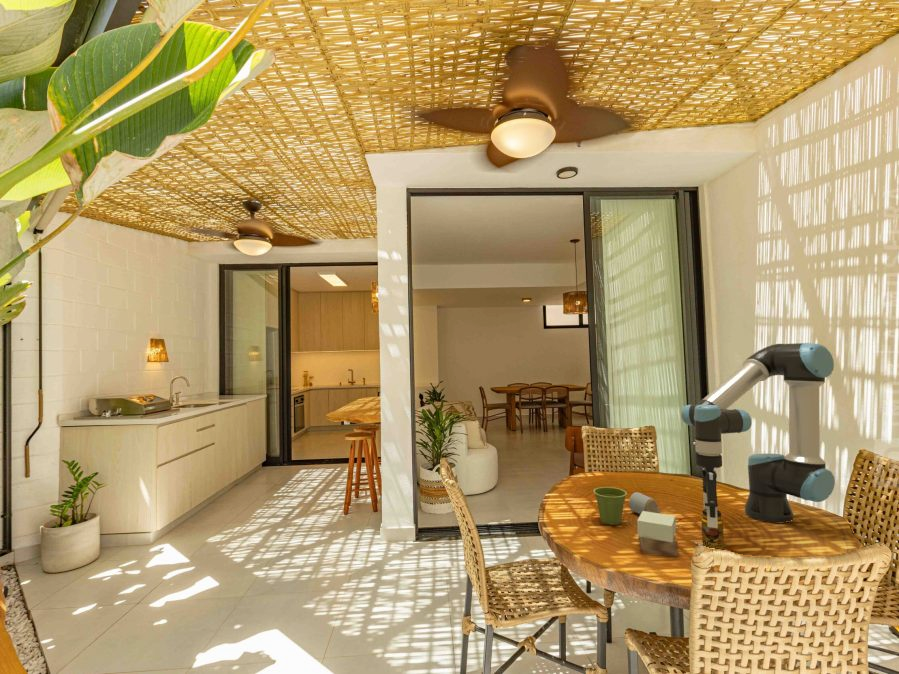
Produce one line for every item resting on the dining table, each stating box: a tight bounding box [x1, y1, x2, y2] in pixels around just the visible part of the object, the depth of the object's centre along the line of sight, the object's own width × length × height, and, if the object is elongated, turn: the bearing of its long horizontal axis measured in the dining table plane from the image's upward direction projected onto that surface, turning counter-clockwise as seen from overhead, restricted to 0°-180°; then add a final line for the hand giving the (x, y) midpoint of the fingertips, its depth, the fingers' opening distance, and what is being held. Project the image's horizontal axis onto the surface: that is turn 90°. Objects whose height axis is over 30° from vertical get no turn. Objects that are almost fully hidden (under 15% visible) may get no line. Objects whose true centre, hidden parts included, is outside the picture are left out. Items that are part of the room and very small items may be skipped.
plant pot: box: [592, 486, 628, 526], centre depth 175 cm, size 12×12×11 cm
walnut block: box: [638, 536, 679, 557], centre depth 152 cm, size 10×10×5 cm
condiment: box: [694, 508, 728, 550], centre depth 151 cm, size 7×8×12 cm
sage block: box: [636, 511, 677, 542], centre depth 152 cm, size 10×10×5 cm
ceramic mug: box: [628, 492, 660, 515], centre depth 183 cm, size 11×8×8 cm
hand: (710, 520), depth 151 cm, fingers open, 13 cm apart
